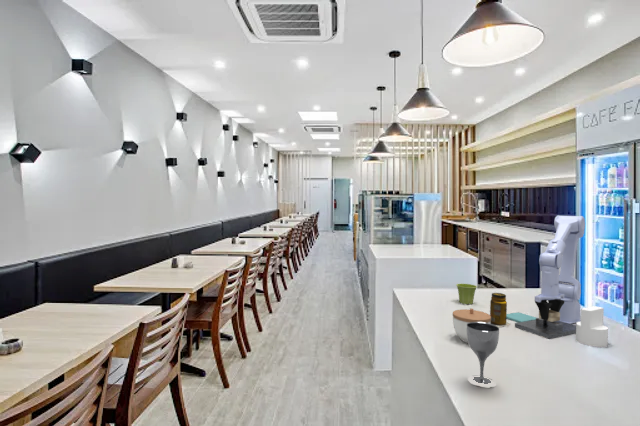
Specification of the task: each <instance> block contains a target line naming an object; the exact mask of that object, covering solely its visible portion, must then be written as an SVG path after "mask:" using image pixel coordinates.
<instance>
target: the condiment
mask: <svg viewBox="0 0 640 426" xmlns="http://www.w3.org/2000/svg"><path fill="white" fill-rule="evenodd" d="M489 302H490V305H489V307H490V308H489V309H490V310H489V315H490V316H491V324H493V325H495V326H497V327H498V328H502V327H506V326H510V325H511V323H509V322H507V319H506V318H507V317H506V316H507V314H508V312H507V311H508V309H507V308H508V306H507V305H508V304H507V303H508V302H507V295H506V294H505V293H501V292H492V293H491V298H490V301H489Z"/></svg>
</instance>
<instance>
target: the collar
mask: <svg viewBox="0 0 640 426" xmlns="http://www.w3.org/2000/svg"><path fill="white" fill-rule="evenodd" d="M538 318H540V319H541V315H540V312H539V311H538ZM543 320H544V319H543ZM559 320H560V312H556V311H552V310H550V309H549V315H548V320H547V321H550V322H553V321H559Z"/></svg>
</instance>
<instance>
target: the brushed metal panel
mask: <svg viewBox="0 0 640 426" xmlns="http://www.w3.org/2000/svg"><path fill="white" fill-rule="evenodd" d="M514 328H516V329H520V330H522V331H525V332H527V333H531V334H532V335H533V334H534V335H537V336H538V337H539V336H540V337H542V338H546V339H549V340H550V339H551V340H552V339H555V338H561V337H566V336H572V335H576V325H575V324H573V323H572V324H569V323H565V322H562V321H553V322H550V321H547V320H543V319H540V318H539V317H536V320H532V321H526V322H520V323H518V322H514Z"/></svg>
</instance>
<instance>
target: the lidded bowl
mask: <svg viewBox="0 0 640 426" xmlns="http://www.w3.org/2000/svg"><path fill="white" fill-rule="evenodd" d="M470 322H484V323H489V324H491V316H490V313H487V312H484V311H480V310H474V308H469V309H457V310H453V312H452V324H453V329H454V331H455V332H454V333H456V335H457V336H458V337H459V338H460V340H461V341H463V342H465V343H468V339H467V323H470Z"/></svg>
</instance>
